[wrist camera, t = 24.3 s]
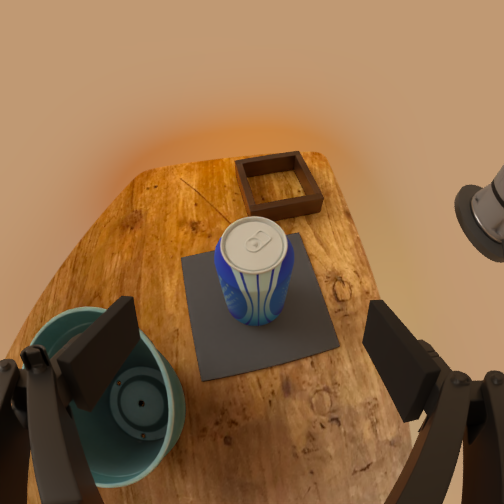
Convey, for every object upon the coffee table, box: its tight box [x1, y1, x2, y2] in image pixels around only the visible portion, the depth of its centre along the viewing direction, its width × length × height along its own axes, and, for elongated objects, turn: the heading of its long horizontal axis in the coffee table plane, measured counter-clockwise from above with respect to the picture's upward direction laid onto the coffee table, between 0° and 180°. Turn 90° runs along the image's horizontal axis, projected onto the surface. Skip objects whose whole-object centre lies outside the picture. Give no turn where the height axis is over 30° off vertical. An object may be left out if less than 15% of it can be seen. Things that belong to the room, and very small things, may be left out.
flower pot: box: [22, 307, 186, 488], centre depth 27 cm, size 18×18×17 cm
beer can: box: [214, 216, 294, 326], centre depth 35 cm, size 8×8×16 cm
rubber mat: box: [181, 232, 340, 381], centre depth 42 cm, size 20×20×1 cm
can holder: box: [235, 151, 324, 221], centre depth 51 cm, size 13×13×4 cm
